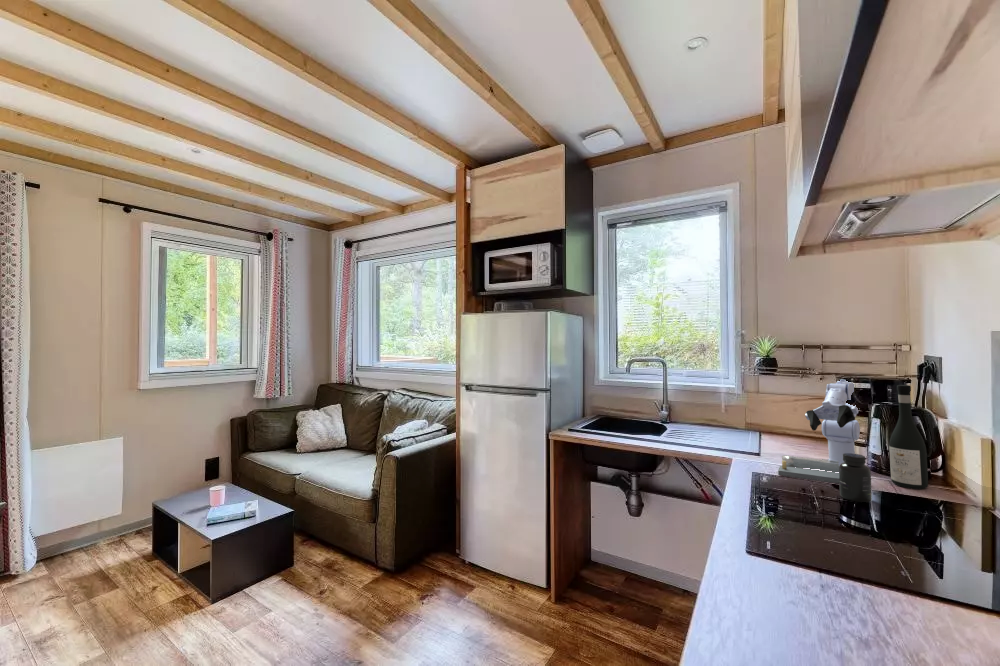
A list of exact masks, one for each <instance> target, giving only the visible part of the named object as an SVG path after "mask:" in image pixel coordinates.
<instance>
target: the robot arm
mask: <svg viewBox="0 0 1000 666" xmlns="http://www.w3.org/2000/svg"><path fill="white" fill-rule="evenodd" d="M839 380H840V381H838V380H837V381H836V382H835V383H827V384H826V389H825V397H824V400H823V401H822V402H821V404H822V405H820V406H819V407H816V408H815V409H809V410H807V411H806V412H805V414H804V416H805V418H806V420H807V421H809V426H810V427H809V428H811V430H812V431H817V429H818V427H819V426H821V433H822V435H823V436H824V437H825V438H826V440H827V447H828V458H827V460H835V461H838V462H839V465H840V464H841V463H844V461H843V454H844V453H853V454H856V451H855V450H856V449H855V448H856V447H855V441H858V440H859V439H860V434H861V433H860V431H861V427H860V423H859V421H858V420H857V419H856V417H857V415H858V414H859V411H860V409H859V410H858V408H857V407H856V405H855V406H853V405H850V404H848V403H846V401H847V400H851V395H852V393H853V392H854V384H853V383H851V382H848V381H846V379H839ZM821 420H823V421H821Z"/></svg>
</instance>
